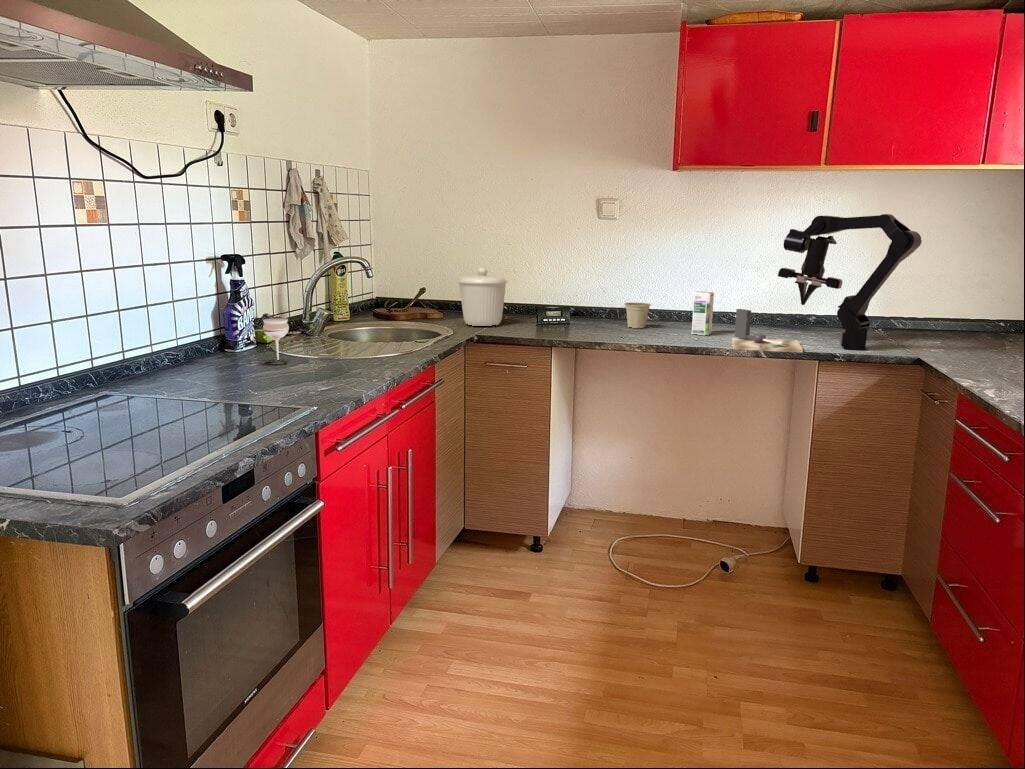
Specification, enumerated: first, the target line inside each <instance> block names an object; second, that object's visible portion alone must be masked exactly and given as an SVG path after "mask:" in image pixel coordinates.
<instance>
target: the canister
mask: <svg viewBox="0 0 1025 769" xmlns="http://www.w3.org/2000/svg"><path fill="white" fill-rule="evenodd" d="M457 282H458V284H459V291H460V292H459V293H460V299H461V300H460V301H461V302H460V303H461V308H462V315H463V320H464V323H465V324H466V325H467V324H468V325H467V326H469V325H472V326H471V327H473V326H492V325H496V326H498V325H500V323H501V322H502V318H503V313H504V302H505V296H506V294H505V293H506V285H507V283H508V279H505V278H504V277H503V276H501V275H493V274H491V275H490V274H488V269H487V268H486V267H479V268H478V269H477V274H472V275H464V276H462V277H461V278H460V279H458V280H457ZM492 327H493V326H492Z"/></svg>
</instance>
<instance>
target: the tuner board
mask: <svg viewBox="0 0 1025 769" xmlns="http://www.w3.org/2000/svg"><path fill="white" fill-rule="evenodd" d="M768 339H769V340H774V341H778V342H780V341H782V342H783V345H779V344H776V343H771V342H767V341H765V342H754V341H753V340H754V339H743V338H739V337H732V338H731V340H732V343H731V344H732V349H733V350H740V351H761V352H762V351H764V352H778V353H779V352H783V353H785V352H786V353H804V352H803V350H804V349H803V347H802V345H801V343H800V342H799V341H798V340H796V339H794V340H793V339H777V338H776V339H773V338H772V339H771V338H768Z"/></svg>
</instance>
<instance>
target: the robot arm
mask: <svg viewBox="0 0 1025 769" xmlns="http://www.w3.org/2000/svg"><path fill="white" fill-rule="evenodd" d="M863 229H881V230H882V231H883V232H884V234H886V235H885V236H887V238H888V239H890V240H891V242H890V244H889V245H888V249H887V252H886V254H885V256H884V257H883V259H882V261H880V263H879V264H878V266H877V267H876V268H875V270H874V271H873V272H872V274H870V276H869V277H868V278H867V280H866V281H865V282H864V283H863V285H862V286H861V287H860V289H859V290H858V292H857V293H856V294H855V295H847V296H845V297H844V299H843V301H842V302H841V304H840V305H838V306H837V308H838V310H837V312H836V316H837V319H838V321H839V322H840V324H841V328H842V329H843V331H841V333H840V336H841V337H840V346H841V348H842V349H843V350H857V351H859V350H860V351H867V350H868V349H867V346H866V345H867V337H868V328H870V326H871V325H872V324H871V323H872V321H871V320H870V318H869V317H868V316H867V315H866V312H867V311H868V309H869V306H870V302H871V300H872V299H873V297H874V296H875V295H876V293H877V292H878V291H879V290H880V289H881V287H882V286H883V285H884V284H885V282H886V281H887V280H888V278H889V277H890V276H891V274H893V272H894V271H895V270H896V268H897V267H898V266H899V265H900V264H901V263H902V262H903V261H904V260H906V258H908V257H909V256H911V255H912V254H913V253H914V252H916V250H917V249H919V247H920V246H921V245H922V241H923V240H922V237H921V235H920V233H919V232H917V231H915V230H911V229H910V228H909V227H908V226H906V225H905V224H904V223H902V222H901V221H899V220H898V219H897V218H896V217H895V216H894V215H893V214H890V213H889V214H888V213H883V214H879V215H867V216H866V215H864V216H850V217H843V216H834V215H817V216H815V217H814V218H813V219H812V221H811V224H809V226H807V228H805V229H804V230H803V231H802V230H798V229H794V228H790V229H789V231H788V233H787V235H786V236H785V237H784V238H785V239H784V240H783V249H784V250H785V251H789V252H794V253H799V254H804V253H805V252H806V255H805V257H804V261H803V263H802V265H801V267H800V270H801V272H796V269H793V268H787V267H780V268H779V270H778V272H777V277H779V278H782V279H783V278H784V279H788V278H793V279H796V280H795V281H794V283H795V284H797V286H798V290H799V298H800V304H801V305H802V306H805V305H806V303H807V302H808V300H809V298H810V297H811V296H812V294H813V293H814V292H815V291H816V290H817V288H822V285H825V286H826V287H827V288H832V289H835V290H839V289H842V287H843V286H842V285H843V279H841V278H836V277H833V276H832V277H831V276H829V277H827V278H825V277H824V274H825V272H826V271H825V270H826V269H825V266H824V265H825V261H826V257H827V254H828V250H829V246H830V244H831V245H837V243H838V242H837V241H836V240H835V238H834V236H833V235H831V234H835V233H840V232H843V231H847V230H863ZM821 235H828V236H827V237H826V236H821ZM813 237H816V238H813ZM808 281H809V282H811V283H809V282H808Z"/></svg>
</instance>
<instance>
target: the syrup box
mask: <svg viewBox="0 0 1025 769" xmlns="http://www.w3.org/2000/svg"><path fill="white" fill-rule="evenodd" d="M714 298H715V291H695V292H693V300H692V301H693V302H692V321H691V322H692V323H691V335H692V334H697V336H705V335H708V336H709V334H710V335H711V334H712V328H713V327H712V326H713V316H714V314H713V313H714V312H713V311H714Z"/></svg>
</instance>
